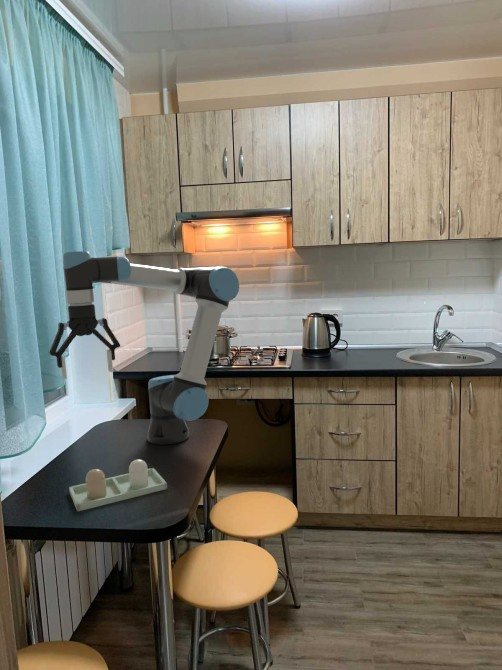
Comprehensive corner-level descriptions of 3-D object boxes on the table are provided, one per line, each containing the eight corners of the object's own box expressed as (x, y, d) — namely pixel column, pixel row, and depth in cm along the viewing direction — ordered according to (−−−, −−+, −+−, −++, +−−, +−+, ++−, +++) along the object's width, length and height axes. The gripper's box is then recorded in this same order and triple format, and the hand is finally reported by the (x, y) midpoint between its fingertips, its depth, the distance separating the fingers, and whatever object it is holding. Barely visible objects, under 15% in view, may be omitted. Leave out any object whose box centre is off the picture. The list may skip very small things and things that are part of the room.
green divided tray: (153, 475, 156) (153, 467, 156) (167, 491, 145) (167, 483, 144) (69, 495, 145) (69, 487, 145) (77, 514, 134) (76, 505, 133)
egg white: (145, 480, 151) (143, 455, 150) (150, 486, 146) (149, 460, 145) (127, 484, 148) (126, 458, 147) (132, 490, 144) (131, 464, 143)
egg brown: (104, 489, 146) (102, 464, 145) (108, 497, 141) (106, 470, 140) (85, 494, 143) (83, 468, 142) (89, 501, 139) (86, 475, 138)
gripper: (119, 300, 161) (125, 366, 164) (34, 307, 149) (42, 378, 152) (126, 301, 155) (132, 370, 158) (37, 308, 143) (45, 383, 146)
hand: (88, 374), depth 155 cm, fingers open, 13 cm apart
